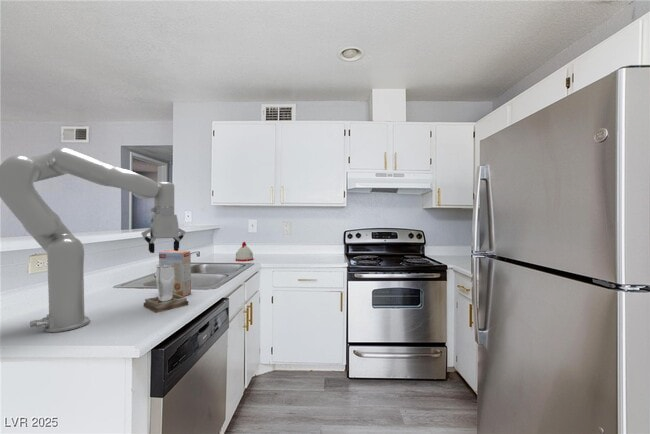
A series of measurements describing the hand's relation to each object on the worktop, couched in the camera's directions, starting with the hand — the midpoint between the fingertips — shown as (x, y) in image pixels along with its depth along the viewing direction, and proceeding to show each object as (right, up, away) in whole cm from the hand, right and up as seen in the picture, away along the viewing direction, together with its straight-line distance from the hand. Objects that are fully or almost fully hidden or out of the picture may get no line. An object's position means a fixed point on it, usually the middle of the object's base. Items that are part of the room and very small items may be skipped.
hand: (164, 251), depth 129 cm
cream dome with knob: (+2, -21, +120) cm, 122 cm away
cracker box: (-4, -23, +18) cm, 29 cm away
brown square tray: (0, -23, +1) cm, 23 cm away
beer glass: (0, -22, 0) cm, 22 cm away
